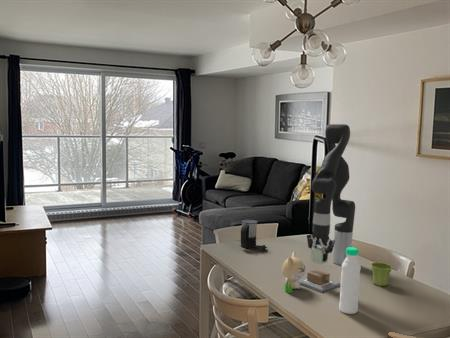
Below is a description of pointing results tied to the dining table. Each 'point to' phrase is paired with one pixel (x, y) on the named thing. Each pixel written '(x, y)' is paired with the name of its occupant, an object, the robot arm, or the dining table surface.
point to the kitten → (293, 272)
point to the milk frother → (249, 234)
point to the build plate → (316, 287)
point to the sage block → (317, 255)
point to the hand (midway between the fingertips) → (319, 259)
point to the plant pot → (381, 273)
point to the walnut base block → (318, 277)
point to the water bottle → (350, 282)
